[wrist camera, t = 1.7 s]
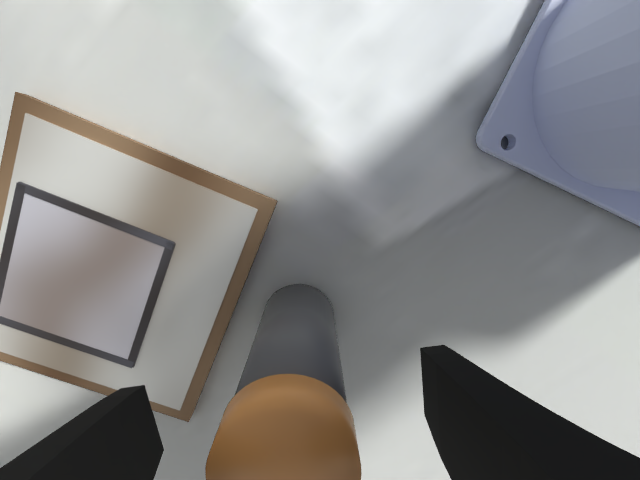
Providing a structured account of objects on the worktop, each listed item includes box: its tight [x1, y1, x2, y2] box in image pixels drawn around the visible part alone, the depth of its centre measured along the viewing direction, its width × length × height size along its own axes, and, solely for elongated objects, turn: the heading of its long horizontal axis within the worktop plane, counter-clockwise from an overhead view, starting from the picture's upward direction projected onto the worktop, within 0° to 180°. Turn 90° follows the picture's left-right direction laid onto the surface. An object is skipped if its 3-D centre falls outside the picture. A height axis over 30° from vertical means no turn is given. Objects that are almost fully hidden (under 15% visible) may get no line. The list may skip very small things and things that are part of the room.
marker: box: [206, 284, 361, 480], centre depth 9 cm, size 3×3×6 cm
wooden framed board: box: [0, 92, 277, 422], centre depth 11 cm, size 9×10×1 cm
